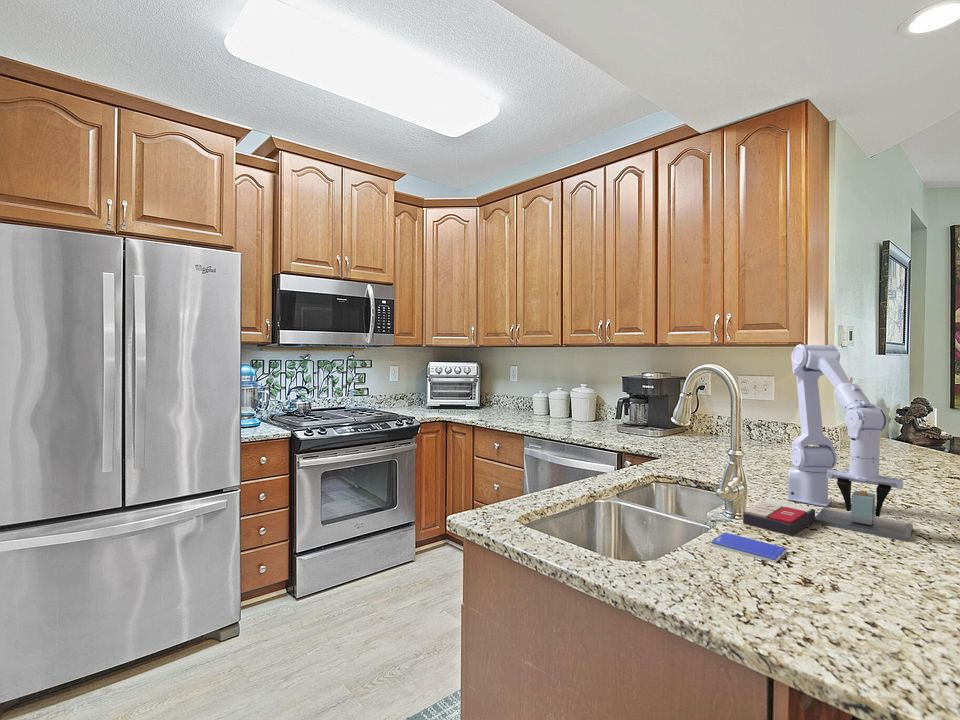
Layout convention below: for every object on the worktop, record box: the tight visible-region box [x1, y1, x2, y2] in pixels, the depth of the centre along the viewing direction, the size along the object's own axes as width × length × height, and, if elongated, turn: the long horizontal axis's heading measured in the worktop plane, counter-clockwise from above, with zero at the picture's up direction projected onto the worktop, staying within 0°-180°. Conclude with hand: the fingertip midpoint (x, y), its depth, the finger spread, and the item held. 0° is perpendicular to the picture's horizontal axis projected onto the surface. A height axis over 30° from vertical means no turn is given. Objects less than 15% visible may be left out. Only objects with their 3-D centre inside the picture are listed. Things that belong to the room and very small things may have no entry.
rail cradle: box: [814, 506, 914, 543], centre depth 124 cm, size 18×12×2 cm, turn 47°
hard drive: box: [710, 531, 788, 564], centre depth 108 cm, size 2×8×12 cm
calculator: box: [742, 498, 816, 537], centre depth 125 cm, size 11×4×15 cm
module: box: [850, 489, 877, 525], centre depth 124 cm, size 4×6×7 cm, turn 137°
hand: (862, 512), depth 124 cm, fingers open, 5 cm apart
